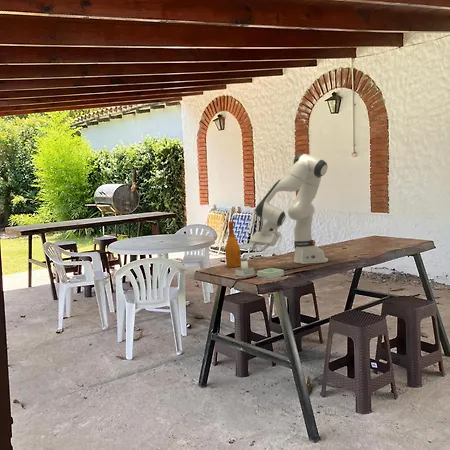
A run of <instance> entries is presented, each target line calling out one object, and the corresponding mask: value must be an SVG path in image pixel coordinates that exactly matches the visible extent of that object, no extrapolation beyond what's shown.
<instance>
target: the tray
mask: <svg viewBox="0 0 450 450" xmlns="http://www.w3.org/2000/svg"><path fill="white" fill-rule="evenodd" d="M256 272H257V277H259V278H265V279H273V278H278V277H284V276H285V270H284V269H280V268H273V267H269V268H266V269H260V270H257V271H256Z"/></svg>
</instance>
